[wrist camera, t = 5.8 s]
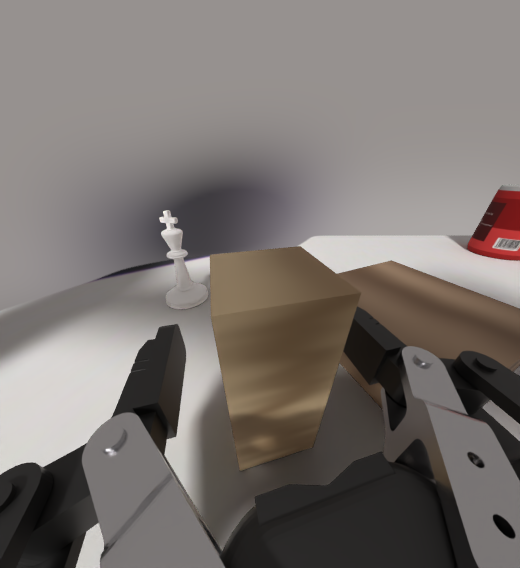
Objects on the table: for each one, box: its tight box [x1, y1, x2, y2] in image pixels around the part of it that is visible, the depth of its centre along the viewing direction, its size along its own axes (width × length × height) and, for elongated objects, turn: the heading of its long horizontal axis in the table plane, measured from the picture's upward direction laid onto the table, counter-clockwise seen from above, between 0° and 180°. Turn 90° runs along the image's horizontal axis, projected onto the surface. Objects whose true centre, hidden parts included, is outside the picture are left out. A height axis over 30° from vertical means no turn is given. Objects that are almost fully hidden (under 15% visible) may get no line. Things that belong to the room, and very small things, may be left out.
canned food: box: [467, 185, 520, 260], centre depth 31 cm, size 8×8×11 cm
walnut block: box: [337, 261, 520, 409], centre depth 15 cm, size 11×11×5 cm
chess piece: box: [160, 211, 209, 309], centre depth 20 cm, size 5×5×10 cm
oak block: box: [210, 246, 361, 471], centre depth 9 cm, size 4×4×10 cm
